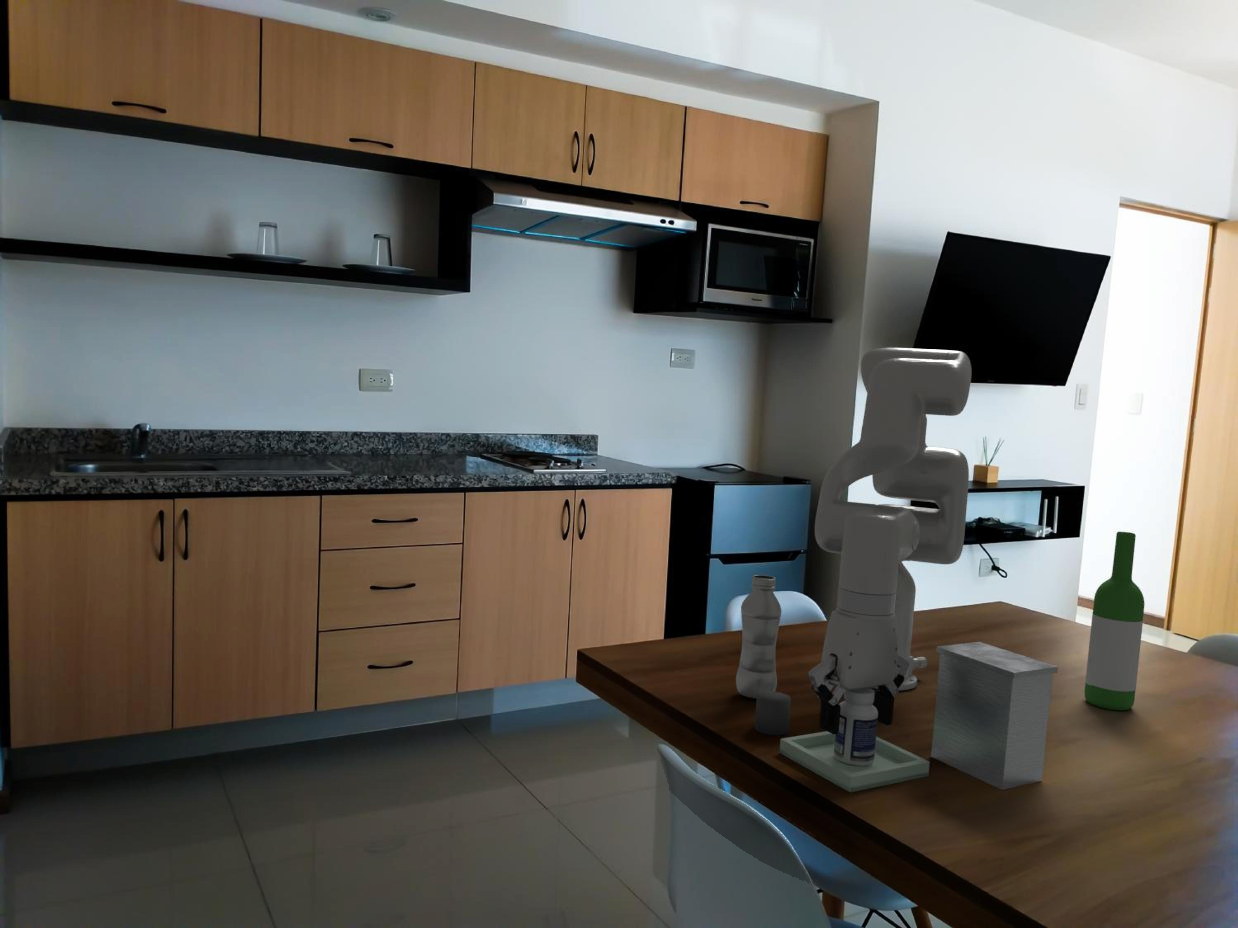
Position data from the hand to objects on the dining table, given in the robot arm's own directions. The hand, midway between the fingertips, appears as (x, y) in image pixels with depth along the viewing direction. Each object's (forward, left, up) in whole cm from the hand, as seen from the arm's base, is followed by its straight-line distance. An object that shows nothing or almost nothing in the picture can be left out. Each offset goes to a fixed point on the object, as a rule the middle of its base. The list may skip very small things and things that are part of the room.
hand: (855, 726), depth 131 cm
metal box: (-17, +8, -5) cm, 20 cm away
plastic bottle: (-5, -28, -6) cm, 29 cm away
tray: (0, 0, -5) cm, 5 cm away
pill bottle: (0, 0, -5) cm, 5 cm away
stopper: (+2, -15, -5) cm, 16 cm away
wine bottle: (-63, -4, -6) cm, 63 cm away
